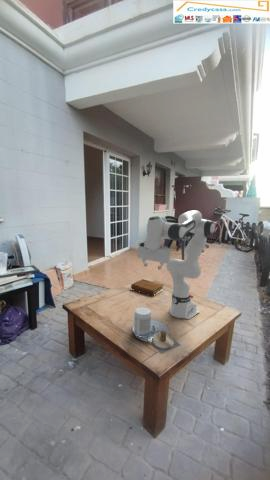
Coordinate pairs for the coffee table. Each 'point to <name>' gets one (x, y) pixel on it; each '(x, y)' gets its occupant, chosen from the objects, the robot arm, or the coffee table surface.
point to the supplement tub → (142, 322)
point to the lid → (163, 340)
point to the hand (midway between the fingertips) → (152, 267)
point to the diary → (147, 287)
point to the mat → (165, 349)
